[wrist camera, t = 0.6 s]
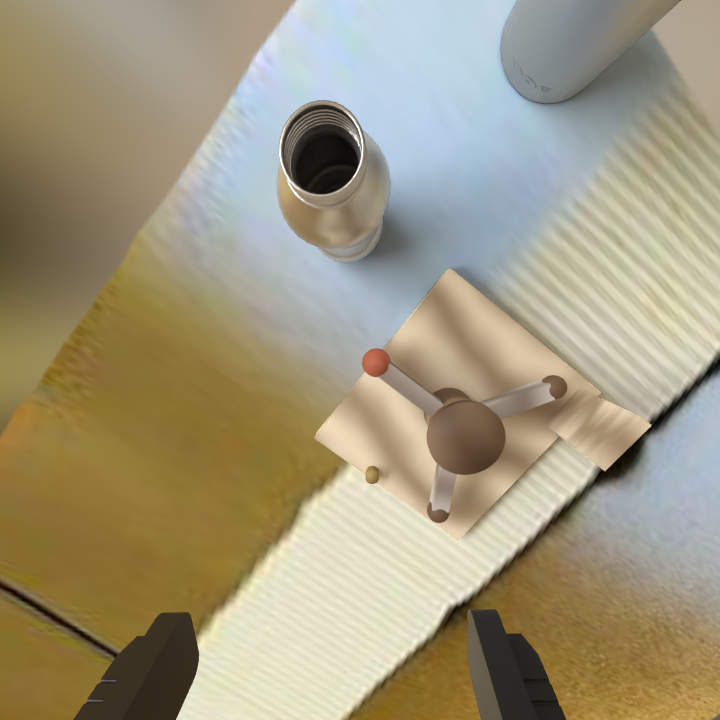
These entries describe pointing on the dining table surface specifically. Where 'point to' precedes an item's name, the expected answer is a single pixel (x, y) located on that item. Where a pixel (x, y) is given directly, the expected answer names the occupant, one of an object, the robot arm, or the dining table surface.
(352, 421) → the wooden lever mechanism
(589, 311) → the dining table surface
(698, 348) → the dining table surface
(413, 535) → the dining table surface
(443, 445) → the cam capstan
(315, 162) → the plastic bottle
